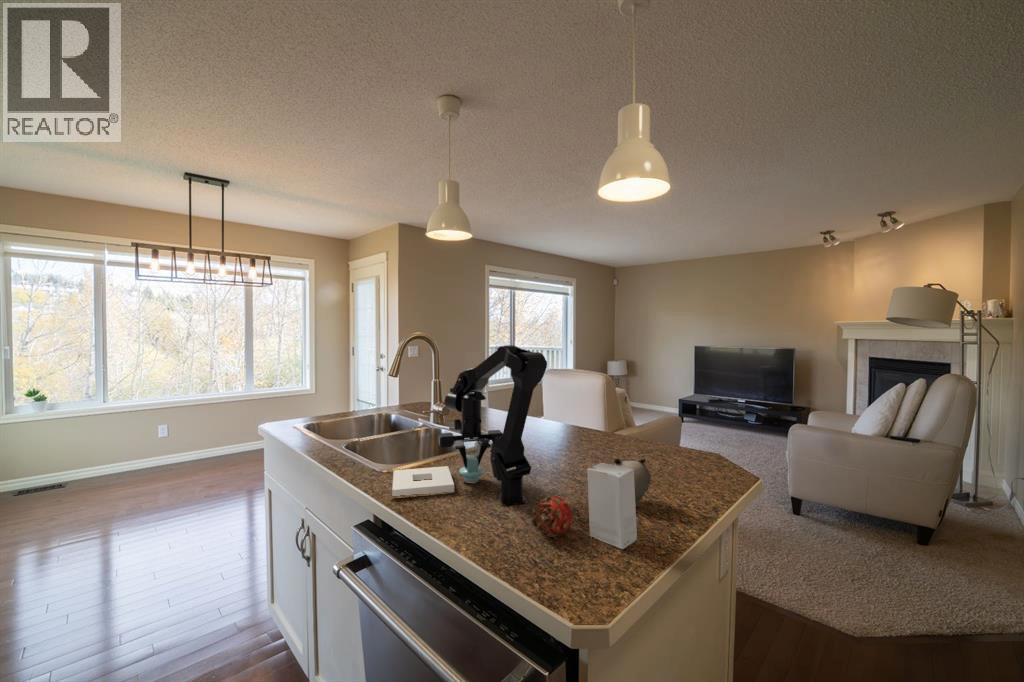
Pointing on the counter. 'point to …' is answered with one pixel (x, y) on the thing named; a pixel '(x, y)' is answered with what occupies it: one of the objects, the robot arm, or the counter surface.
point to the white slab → (422, 481)
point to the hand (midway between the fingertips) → (471, 467)
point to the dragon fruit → (552, 516)
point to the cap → (471, 469)
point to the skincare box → (612, 504)
